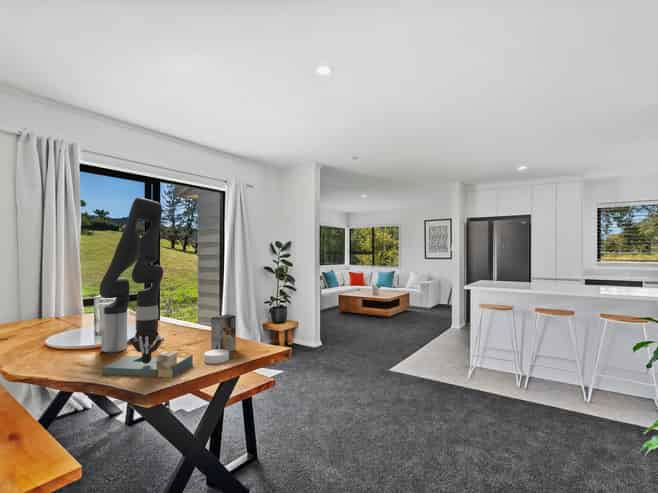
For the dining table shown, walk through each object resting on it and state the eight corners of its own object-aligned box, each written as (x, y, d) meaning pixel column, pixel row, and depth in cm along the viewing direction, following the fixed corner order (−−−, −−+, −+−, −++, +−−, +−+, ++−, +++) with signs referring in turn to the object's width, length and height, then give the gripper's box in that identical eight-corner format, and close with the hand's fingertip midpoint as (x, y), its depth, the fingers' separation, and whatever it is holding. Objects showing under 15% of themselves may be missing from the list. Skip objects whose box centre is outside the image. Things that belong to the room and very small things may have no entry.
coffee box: (226, 347, 164) (226, 313, 164) (236, 350, 161) (236, 315, 161) (210, 352, 157) (210, 317, 157) (220, 355, 153) (220, 318, 153)
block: (156, 369, 128) (156, 355, 128) (164, 364, 133) (164, 351, 133) (169, 369, 127) (169, 356, 127) (176, 365, 132) (176, 352, 132)
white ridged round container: (219, 355, 154) (219, 347, 154) (233, 359, 148) (233, 351, 148) (199, 361, 145) (199, 352, 145) (213, 366, 140) (213, 357, 140)
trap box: (102, 374, 129) (102, 363, 129) (127, 361, 143) (127, 352, 143) (173, 377, 126) (173, 366, 126) (192, 364, 140) (192, 354, 140)
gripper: (169, 315, 135) (168, 360, 135) (137, 314, 136) (136, 359, 136) (157, 320, 127) (157, 367, 127) (124, 318, 129) (123, 365, 129)
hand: (146, 362), depth 132 cm, fingers closed
